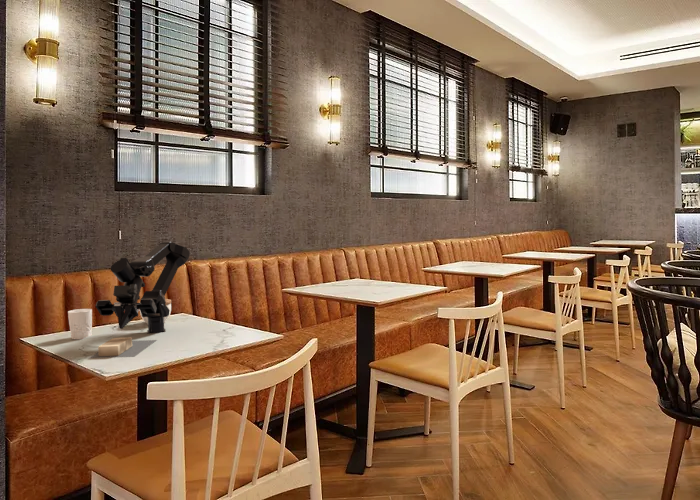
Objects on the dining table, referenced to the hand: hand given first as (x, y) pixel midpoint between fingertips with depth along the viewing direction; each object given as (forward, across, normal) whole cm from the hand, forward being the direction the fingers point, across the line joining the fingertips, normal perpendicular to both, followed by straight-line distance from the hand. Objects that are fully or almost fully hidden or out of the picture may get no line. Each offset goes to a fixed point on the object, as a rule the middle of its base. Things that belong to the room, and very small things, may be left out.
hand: (120, 328), depth 179 cm
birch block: (+3, 0, +4) cm, 5 cm away
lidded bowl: (-26, -3, +36) cm, 45 cm away
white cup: (-10, -23, +20) cm, 32 cm away
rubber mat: (+6, +2, +4) cm, 7 cm away
